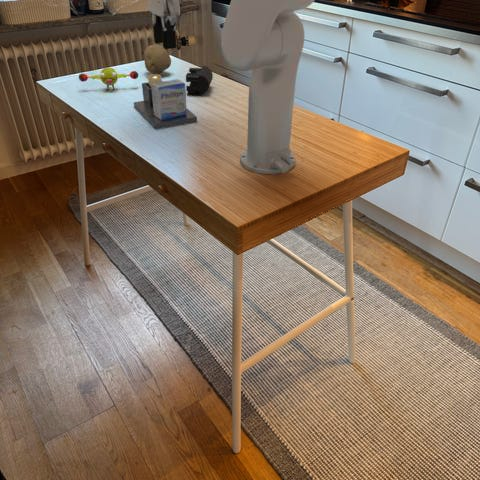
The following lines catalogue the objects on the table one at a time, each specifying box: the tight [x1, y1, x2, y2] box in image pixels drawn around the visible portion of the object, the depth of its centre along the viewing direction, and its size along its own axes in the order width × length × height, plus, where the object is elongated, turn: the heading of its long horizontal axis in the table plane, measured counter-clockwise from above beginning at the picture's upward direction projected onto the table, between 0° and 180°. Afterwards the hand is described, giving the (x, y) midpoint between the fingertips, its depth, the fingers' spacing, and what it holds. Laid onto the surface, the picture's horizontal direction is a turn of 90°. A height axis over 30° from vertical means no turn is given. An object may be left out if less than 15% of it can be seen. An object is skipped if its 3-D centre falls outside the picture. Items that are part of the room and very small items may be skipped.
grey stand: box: [133, 80, 198, 130], centre depth 124 cm, size 18×12×6 cm, turn 28°
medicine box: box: [151, 79, 188, 120], centre depth 119 cm, size 8×4×9 cm, turn 124°
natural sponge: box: [143, 43, 172, 75], centre depth 153 cm, size 9×9×10 cm
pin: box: [147, 73, 163, 88], centre depth 126 cm, size 4×4×5 cm
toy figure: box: [78, 67, 139, 92], centre depth 140 cm, size 18×6×7 cm, turn 103°
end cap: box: [185, 65, 214, 97], centre depth 140 cm, size 10×7×7 cm
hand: (165, 44), depth 111 cm, fingers open, 5 cm apart
